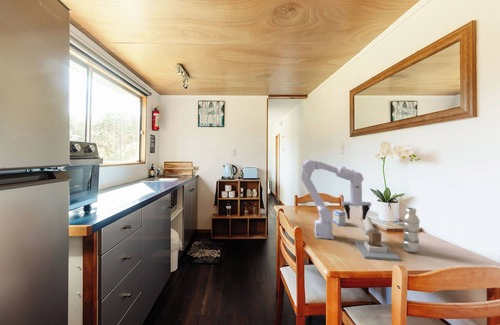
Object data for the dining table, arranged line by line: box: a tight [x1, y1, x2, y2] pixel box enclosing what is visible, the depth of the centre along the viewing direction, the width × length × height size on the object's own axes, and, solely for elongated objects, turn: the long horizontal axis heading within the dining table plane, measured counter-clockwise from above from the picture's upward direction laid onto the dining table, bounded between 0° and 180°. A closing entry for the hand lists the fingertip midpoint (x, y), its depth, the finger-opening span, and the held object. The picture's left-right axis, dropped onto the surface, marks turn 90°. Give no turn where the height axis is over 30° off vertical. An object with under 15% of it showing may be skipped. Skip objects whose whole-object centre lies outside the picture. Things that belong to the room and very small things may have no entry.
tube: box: [361, 215, 376, 236], centre depth 134 cm, size 5×5×25 cm
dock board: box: [353, 240, 402, 262], centre depth 103 cm, size 14×18×3 cm
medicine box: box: [332, 209, 346, 227], centre depth 144 cm, size 8×4×9 cm, turn 5°
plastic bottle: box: [401, 207, 421, 254], centre depth 101 cm, size 6×7×20 cm
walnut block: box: [368, 230, 382, 247], centre depth 103 cm, size 4×4×8 cm
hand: (356, 219), depth 119 cm, fingers open, 7 cm apart
